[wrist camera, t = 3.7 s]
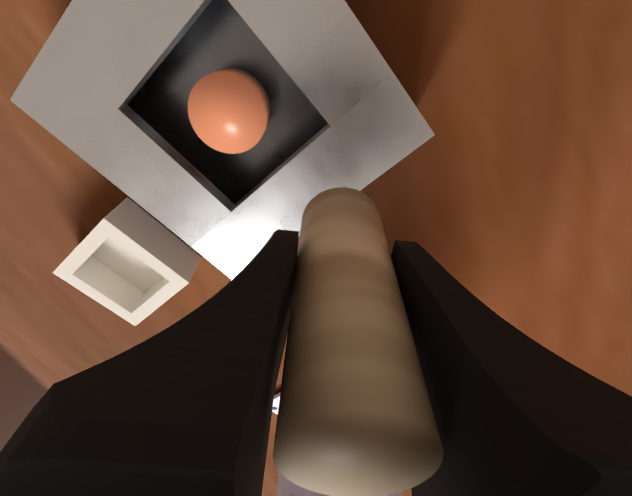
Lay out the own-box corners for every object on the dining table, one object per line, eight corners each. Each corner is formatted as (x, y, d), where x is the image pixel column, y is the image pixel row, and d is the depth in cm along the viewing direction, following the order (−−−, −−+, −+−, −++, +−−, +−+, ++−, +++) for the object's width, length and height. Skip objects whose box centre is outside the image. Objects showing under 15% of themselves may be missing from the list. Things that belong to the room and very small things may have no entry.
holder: (202, 257, 23) (189, 282, 21) (152, 299, 25) (135, 326, 23) (127, 196, 21) (103, 218, 18) (78, 248, 23) (52, 272, 20)
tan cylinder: (373, 258, 13) (420, 501, 7) (299, 253, 13) (272, 493, 7) (386, 190, 12) (466, 417, 5) (303, 183, 12) (273, 405, 5)
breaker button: (285, 112, 16) (282, 119, 14) (237, 158, 17) (230, 168, 16) (231, 49, 14) (223, 52, 13) (183, 104, 16) (171, 110, 14)
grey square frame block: (414, 112, 18) (435, 134, 14) (249, 242, 22) (235, 283, 19) (235, -151, 13) (202, -211, 9) (71, 84, 17) (10, 100, 14)
